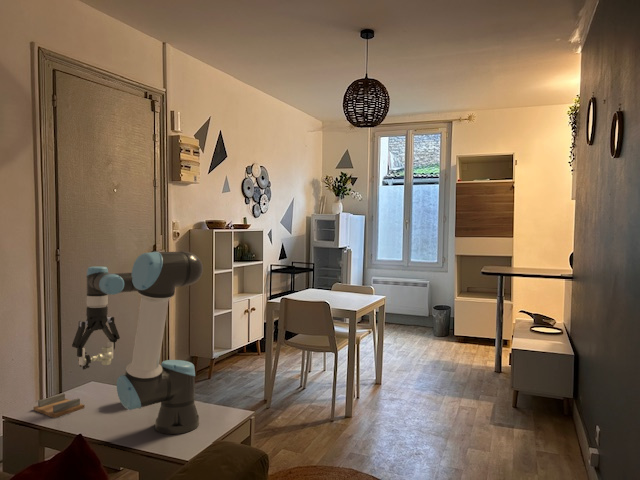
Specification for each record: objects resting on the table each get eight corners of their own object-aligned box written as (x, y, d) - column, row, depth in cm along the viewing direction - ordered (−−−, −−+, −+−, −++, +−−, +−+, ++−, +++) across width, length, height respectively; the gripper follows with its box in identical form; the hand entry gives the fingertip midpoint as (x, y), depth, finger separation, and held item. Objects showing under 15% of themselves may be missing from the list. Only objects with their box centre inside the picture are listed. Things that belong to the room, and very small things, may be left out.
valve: (106, 361, 197) (78, 368, 187) (106, 345, 197) (78, 351, 187) (116, 364, 194) (88, 371, 183) (116, 347, 193) (88, 353, 183)
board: (84, 408, 190) (84, 398, 190) (54, 417, 180) (54, 407, 180) (63, 400, 197) (63, 391, 197) (33, 410, 187) (33, 400, 187)
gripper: (117, 301, 202) (117, 353, 202) (61, 308, 182) (61, 366, 182) (129, 303, 198) (128, 356, 198) (73, 311, 178) (72, 370, 178)
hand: (96, 361), depth 190 cm, fingers closed on valve, 11 cm apart
